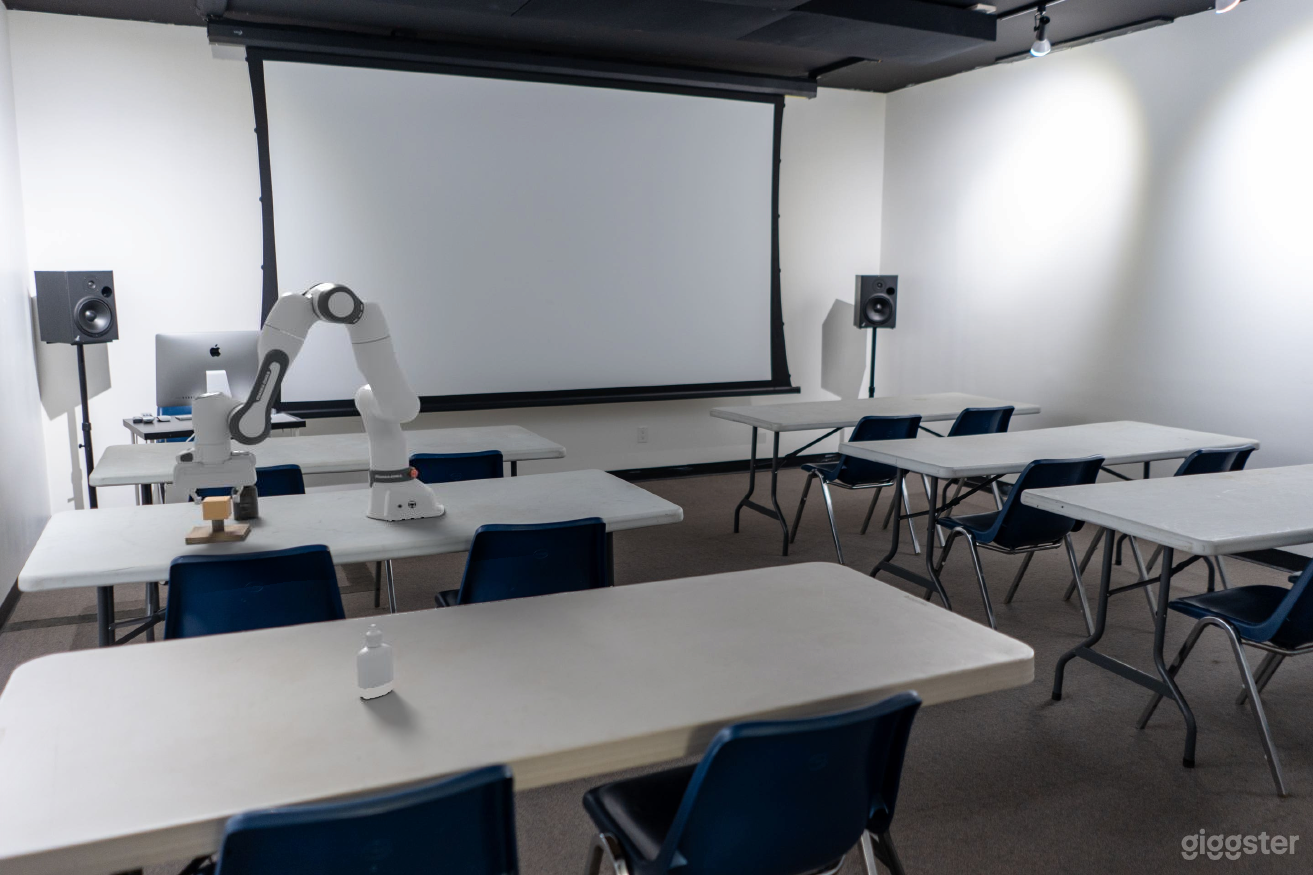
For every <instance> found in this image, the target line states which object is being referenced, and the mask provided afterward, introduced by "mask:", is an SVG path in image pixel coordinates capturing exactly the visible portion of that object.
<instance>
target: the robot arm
mask: <svg viewBox="0 0 1313 875" xmlns="http://www.w3.org/2000/svg"><path fill="white" fill-rule="evenodd" d="M320 321H321V322H324V323H328V324H338V325H339V324H340V325H341V324H342V325H344V326H345V327H346V329H347V331H348V334H349V338H350V343H351V347H352V352H353V354H354V359H355V362H356V363H355V364H356V365H357V366H356V367H357V369H358V371H359V372H360V374H362V376H363V377H364V380H365V381H366V383H367V384H365V385H362V386H361V387H359V389H358V390H357V391H356V393H355V395H354V396H355V397H354V404H355V408H356V409H357V411H358V412H359V414H360V416H361V417H362V418H361V419H362V422H363V426H364V429H365V432H366V436H367V443H368V452H369V469H368V473H367V474H368V486H369V491H370V492H369V501H368V507H367V511H366V516H367V517H369V518H372V519H378V520H384V521H387V520H388V522H393V521H392V520H395V521H401V520H402V519H405V520H411V518H414V519H422V518H421V517H424V518H430V517H431V518H432V517H439V516H441V515H443V514H444V513H445V507H444V505H443V504H440V503H438V502H437V497H436V494H435V492H434V490H433V489H432V488H431V487H430V486H428V485H427V484H425V483H424V482H422V481H421V480H419V479H418V478H417V476H418V474H419V471H418V470H417V469H416V468H415V467H413V466H411V465H410V462H409V440H408V439H407V437H406V435H405V434H404V432H403V429H402V427H401V424H403V423H404V424H405V423H408V422H411V421H413V420H414V419H415V418H416V417H417V416H418V414H419V413H420V410H421V402H420V398H419V396H418V395H417V394H416V393H415V392H414V390H413V389H412V387H410V385H409V383H408V381H407V379H406V377H405V375H404V373H403V371H402V369H401V367H400V364H399V363H398V360H397V356H396V352H395V348H394V345H393V342H392V337H391V332H390V329H389V326H388V323H387V321H386V318H385V315H384V313H383V310H382V309H381V307H380V305H379V304H378V303H377V302H375V301H373V300H369V299H360V298H359V297H358V296H357V295H356V294H355V292H354V291H353V290H352V289H351V288H349V287H348V286H346V285H344V284H339V283H337V282H321V283H320V282H319V283H317V284H314V285H313V286H311V287H310V288H309V289H307V290H306V291H305V292H303V293H296V292H285V293H283V294H282V295H280V296H279V297H278V299H277V301H276V302H275V303H274V304H273V307H272V308H271V310H270V311H269V313H268V315H267V317H266V320H265V321H264V324H263V326H262V328H261V331H260V334H259V338H258V342H257V347H256V348H257V349H256V351H257V354H258V355H257V357H258V369H257V370H258V371H257V373H256V377H255V380H254V382H253V384H252V386H251V388H250V389H251V390H250V392H249V393H248V394H249V395H248V397H247V399H246V401H244V400H240V399H238V398H235V397H232V396H229V395H227V394H225V393H224V391H210V392H207V393H203V394H199V395H198V396H196V397H195V398H194V400H193V401H192V405H191V426H192V430H193V431H194V440H193V447H190V448H188V449H185V450H182V451H180V452H178V453H177V454H176V455H175V462H176V464H175V465H174V467H173V471H172V485H173V487H174V488H175V489H176V490H188V493H189V495H190V496H191V497H192V499H193V502H194V506H196V505H202V502H203V501H202V496H198V495H197V493H196V491H197V489H208V488H227V487H228V488H229V487H235V486H236V490H239V491H238V493H237V495H233V503H234V502H239V501H240V497H239V495H240V493H241V492H242V490H243V486H249V485H253V486H254V485H255V484H256V482H257V480H258V479H257V478H258V476H257V472H256V468H255V466H256V464H257V458H256V455H255V454H254V453H252V452H250V451H248V450H247V451H232V443H231V439H232V438H233V439H234V441H236V442H237V443H239V444H241V445H243V446H256V445H259V444H261V443H263V442H264V441H265V440H266V439H267V438H268V437H269V436H270V433H271V431H272V408H273V406H274V404H275V400H276V399H277V396H278V393H279V390H280V388H281V386H282V383H283V381H284V379H285V376H286V375H287V373H288V371H289V370H290V368H291V367H292V365H293V363H294V362H295V360H296V358H297V357H298V355H299V354H300V352H301V350H302V349H303V348H302V347H303V346H304V344H305V341H306V338H307V337H308V334H309V330H310V329H312V327H313V325H314V324H315V323H317V322H320ZM233 503H232V504H233ZM402 521H403V520H402Z"/></svg>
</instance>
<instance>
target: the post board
mask: <svg viewBox="0 0 1313 875" xmlns="http://www.w3.org/2000/svg"><path fill="white" fill-rule="evenodd" d="M250 530H251V524H250V523H239V524H238V523H236V524H225V519H220V520H211V525H206V526H205V525H203V526H193V528H192V529H191V531H190V532H189V533H188V534H187V535H186V536H185V538H184V539H185V540H184V541H185V544H186V543H189V544H201V543H202V542H203V543H204V542H205V543H218V542H234V541H244V540H245V538H246V537H247V535H248V533H249V532H250ZM192 542H193V543H192ZM195 542H197V543H195ZM198 542H200V543H198ZM203 543H202V544H203Z"/></svg>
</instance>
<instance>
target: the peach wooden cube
mask: <svg viewBox="0 0 1313 875" xmlns="http://www.w3.org/2000/svg"><path fill="white" fill-rule="evenodd" d="M201 507H202V508H201V509H202V520H203V521H212V520H220V519H224V520H229V519H230V517H231V516H232V514H233V513H232V512H233V508H232V495H224V496H220V495H219V496H207V497H205V498H204V499H203V501H202V504H201Z"/></svg>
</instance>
